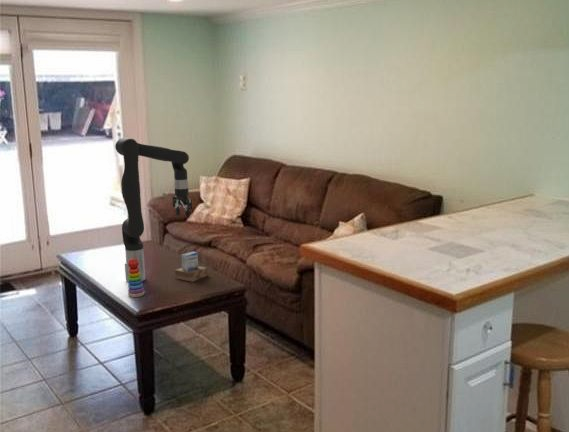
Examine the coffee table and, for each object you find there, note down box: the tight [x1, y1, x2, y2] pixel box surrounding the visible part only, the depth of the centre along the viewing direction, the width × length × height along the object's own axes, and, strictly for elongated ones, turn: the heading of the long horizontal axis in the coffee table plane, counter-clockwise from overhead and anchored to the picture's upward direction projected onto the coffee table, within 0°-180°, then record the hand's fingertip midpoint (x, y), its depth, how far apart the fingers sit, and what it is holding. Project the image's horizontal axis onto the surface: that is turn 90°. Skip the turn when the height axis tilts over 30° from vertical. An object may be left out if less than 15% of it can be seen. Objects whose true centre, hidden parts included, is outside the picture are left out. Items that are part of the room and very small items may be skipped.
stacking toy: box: [127, 258, 145, 298], centre depth 296 cm, size 8×8×19 cm
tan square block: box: [174, 265, 208, 283], centre depth 325 cm, size 12×12×5 cm
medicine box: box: [181, 251, 199, 271], centre depth 323 cm, size 8×4×9 cm, turn 141°
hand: (182, 216), depth 334 cm, fingers open, 8 cm apart
